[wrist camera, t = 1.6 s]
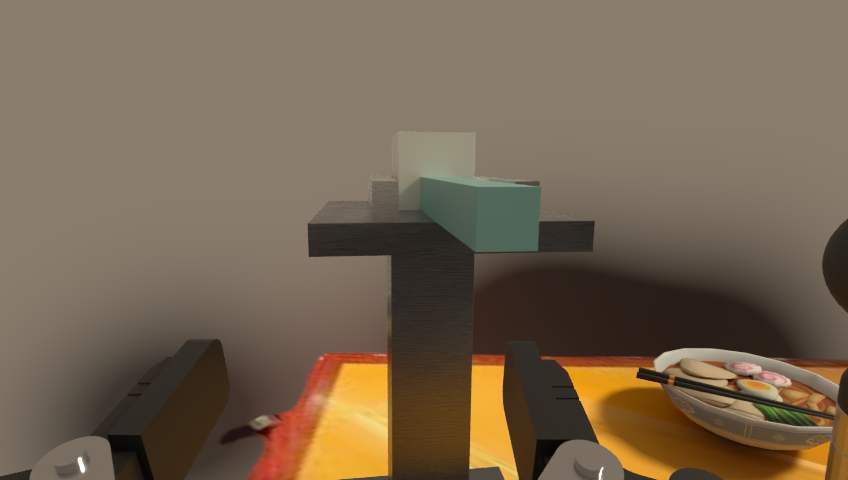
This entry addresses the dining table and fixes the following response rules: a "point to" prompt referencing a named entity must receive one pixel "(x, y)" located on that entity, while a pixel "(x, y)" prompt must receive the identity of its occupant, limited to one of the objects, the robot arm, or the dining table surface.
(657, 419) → the dining table surface
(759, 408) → the ramen bowl
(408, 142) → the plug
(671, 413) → the dining table surface
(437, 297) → the stand
